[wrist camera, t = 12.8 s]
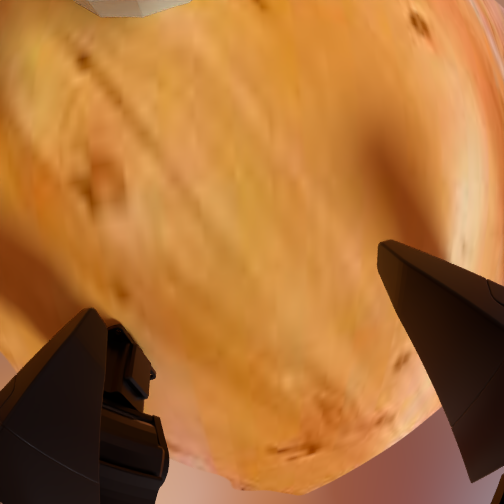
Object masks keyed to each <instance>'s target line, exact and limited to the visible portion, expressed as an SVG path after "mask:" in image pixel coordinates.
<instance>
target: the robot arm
mask: <svg viewBox="0 0 504 504" xmlns="http://www.w3.org/2000/svg"><path fill="white" fill-rule="evenodd" d="M377 269H378V272H379V275H380V277H381V279H382V281H383V284H384V286H385V288H386V290H387V293H388V295H389V297H390V300H391V302H392V304H393V307H394V309H395V311H396V313H397V315H398V317H399V319H400V321H401V323H402V325H403V326H404V328H405V330H406V332H407V334H408V336H409V338H410V340H411V342H412V343H413V345H414V347H415V349H416V351H417V353H418V355H419V357H420V359H421V361H422V363H423V365H424V367H425V369H426V371H427V374H428V376H429V378H430V380H431V382H432V384H433V386H434V388H435V391H436V393H437V395H438V397H439V400H440V402H441V404H442V407H443V409H444V411H445V414H446V416H447V418H448V421H449V423H450V426H451V427H452V428H451V429H452V431H453V434H454V436H455V439H456V441H457V444H458V447H459V449H460V452H461V455H462V458H463V461H464V464H465V467H466V470H467V473H468V476H469V479H470V481H471V483H473V482H475V481H477V480H479V479H481V478H483V477H485V476H487V475H489V474H490V473H492V472H494V471H496V470H498V469H499V468H501V467H503V466H504V286H502V285H499V284H497V283H495V282H493V281H491V280H489V279H487V280H486V278H484V277H482V276H479V275H477V274H475V273H473V272H470V271H468V270H466V269H464V268H461V267H459V266H457V265H454V264H452V263H449V262H447V261H445V260H442V259H440V258H437V257H435V256H432V255H430V254H427V253H425V252H422V251H420V250H417V249H415V248H412V247H410V246H407V245H405V244H402V243H399V242H397V241H394V240H386V241H383V242H380V243H379V244H378V256H377ZM117 330H120V331H121V332H118V331H117ZM150 374H152V375H150ZM155 378H156V372H155V370H154V369H153V368H152V366H151V363H150V362H149V360H148V359H147V357H146V356H145V355H144V353H143V352H142V350H141V349H140V348H139V346H138V345H137V344H135V343H134V342H133V340H132V339H131V337H130V336H129V334H128V333H127V331H126V330H125V328H124V327H123V326H121V325H114V326H111V327H108V328H107V327H106V325H105V323H104V322H103V320H102V319H101V317H100V316H99V314H98V313H97V311H96V310H95V309H94V308H87V309H83V310H81V311H80V312H79V313H78V314H77V315H76V316H75V317H74V318H73V319H72V320H71V321H69V322H68V323H67V324H66V325H65V326H64V327H63V328H62V329H61V330H60V331H59V332H58V333H57V334H56V335H55V336H54V337H53V338H52V339H51V340H50V341H49V342H48V343H47V344H46V345H45V346H43V347H42V348H41V349H40V350H39V351H38V352H37V353H36V354H35V355H34V357H33V358H32V359H31V360H30V361H29V362H28V363H27V364H26V365H25V366H24V367H23V368H22V369H21V370H20V371H19V372H18V373H17V375H15V376H14V377H13V378H12V379H11V380H10V381H9V383H8V384H7V385H6V386H5V387H4V388H3V389H2V390H1V391H0V504H155V501H156V497H157V493H158V490H159V488H160V487H161V486H162V484H163V483H164V481H165V479H166V476H167V473H168V467H169V452H168V448H167V444H166V440H165V436H164V433H163V429H162V425H161V421H160V417H157V416H154V415H152V416H151V415H148V414H145V413H143V410H144V399H148V396H149V383H150V380H153V379H155ZM491 504H504V474H502V476H501V479H500V481H499V484H498V487H497V489H496V492H495V495H494V497H493V499H492V502H491Z"/></svg>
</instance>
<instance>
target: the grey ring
mask: <svg viewBox="0 0 504 504" xmlns="http://www.w3.org/2000/svg"><path fill="white" fill-rule="evenodd" d="M74 1H75V2H76V3H77V4H79V5H81V6H83V7H84V8H86V9H88V10H90V11H91V12H93V13H95V14H96V15H98V16H100V17H145V16H148V15H151V14H154V13H157V12H160V11H163V10H166V9H169V8H172V7H175V6H179V5H182V4H186V3H189V2H190V1H191V0H74Z"/></svg>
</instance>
